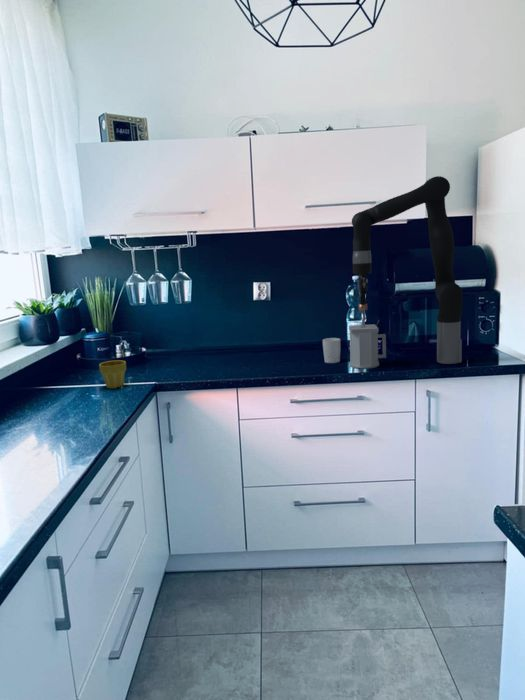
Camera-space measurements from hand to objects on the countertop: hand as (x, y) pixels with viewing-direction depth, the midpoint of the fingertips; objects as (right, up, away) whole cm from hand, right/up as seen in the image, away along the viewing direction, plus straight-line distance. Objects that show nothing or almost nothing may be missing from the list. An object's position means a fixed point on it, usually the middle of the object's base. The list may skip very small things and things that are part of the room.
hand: (362, 304), depth 227 cm
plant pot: (-102, -34, -5) cm, 107 cm away
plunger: (+1, -16, +3) cm, 16 cm away
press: (+3, -25, +5) cm, 26 cm away
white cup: (-11, -24, +16) cm, 31 cm away
